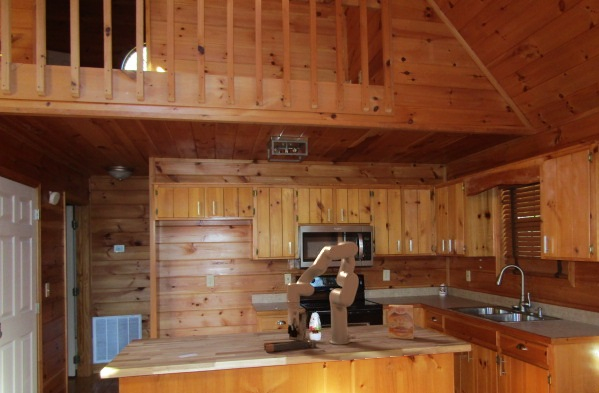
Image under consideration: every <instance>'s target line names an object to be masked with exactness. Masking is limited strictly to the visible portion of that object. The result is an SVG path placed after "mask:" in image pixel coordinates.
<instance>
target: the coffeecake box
mask: <svg viewBox="0 0 599 393" xmlns="http://www.w3.org/2000/svg"><path fill="white" fill-rule="evenodd" d="M387 308H388V309H387V314H388V338H389V339H403V340H414V338H415V326H414V325H415V323H414V322H415V321H414V305H411V304H410V305H408V304H407V305H406V304H405V305H404V304H389V305H388V306H387Z"/></svg>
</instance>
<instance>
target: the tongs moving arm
mask: <svg viewBox="0 0 599 393" xmlns="http://www.w3.org/2000/svg"><path fill="white" fill-rule="evenodd" d="M311 340H312V339H309V340H306V341H300V340H299V341H300V342H290V343H281V344H270V345H266V350H265V352H266V353H272V352H273V353H274V352H280V351H281V352H282V351H289V350H295V349H296V350H297V349H298V350H299V349H307V348H313V347H312V341H311Z"/></svg>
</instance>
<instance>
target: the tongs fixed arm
mask: <svg viewBox="0 0 599 393" xmlns="http://www.w3.org/2000/svg"><path fill="white" fill-rule="evenodd" d="M310 340H311V341H312V347H311V348H312V349H313V348H317V341H316V339H310ZM300 341H307V340H306V339H304V340H288V341H285V340H284V341H272V342H267V341H266V342H263V350H264V351H266V345H270V344H281V343H290V342H300Z"/></svg>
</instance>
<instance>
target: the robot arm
mask: <svg viewBox="0 0 599 393" xmlns="http://www.w3.org/2000/svg"><path fill="white" fill-rule="evenodd" d="M358 252H359V247H358V244H357V243H355V242H354V241H340V242H339V243H337V245H325V246H324V247H322V249H321V250H320V252H319V254H317V257H316V259H315V260H314V261H313V263H312V264H311V265H310V266H309V267H308V268H307V269H305V271H304V272H303V273H302V274H301V276H300V277H299V278H298V280H297V281H296V282H288V283H287V284H286V308H287V324H288V325H287V334H288V335H289V334H291V337H297V326H299V312H300V311H299V308H300V307H301V306H300V305H301V304H300V300H301V296H303V297H309V296H312V295H313V294H314V293H315V286H314V285H313V284H311V283H312V282H313V281H314V280H315V279H316V278H318V277H319V276H322V275H323V274H324V273H326V271H327V269H328V268H329V266H330V264H331V263H332V261H338V260H341V261H340V266H339V270H338V272H337V275H336V284H337V285H338V286H340V287H342V288H334V289H333V288H332V290H331V291H330V292H329V298H328V299H329V303H330V304H329V305H330V324H331V325H330V326H331V327H330V329H331V331H330V332H331V334H330V335H331V336H330V337H331V338H330V339H329V340H328V343H329V344H332V345H348V344H350V343H351V340H354V339H356V335H355V334H353V335H352V334H348V310H347V307H350V306H352V305H353V303H354V302H355V297H356V295H357V291H358V288H359V282H360V281H359V280H360V279H359V277H358V275H357V274H356V273H354V271H355V268H356V259H355V256H356V255H357V254H358Z"/></svg>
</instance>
